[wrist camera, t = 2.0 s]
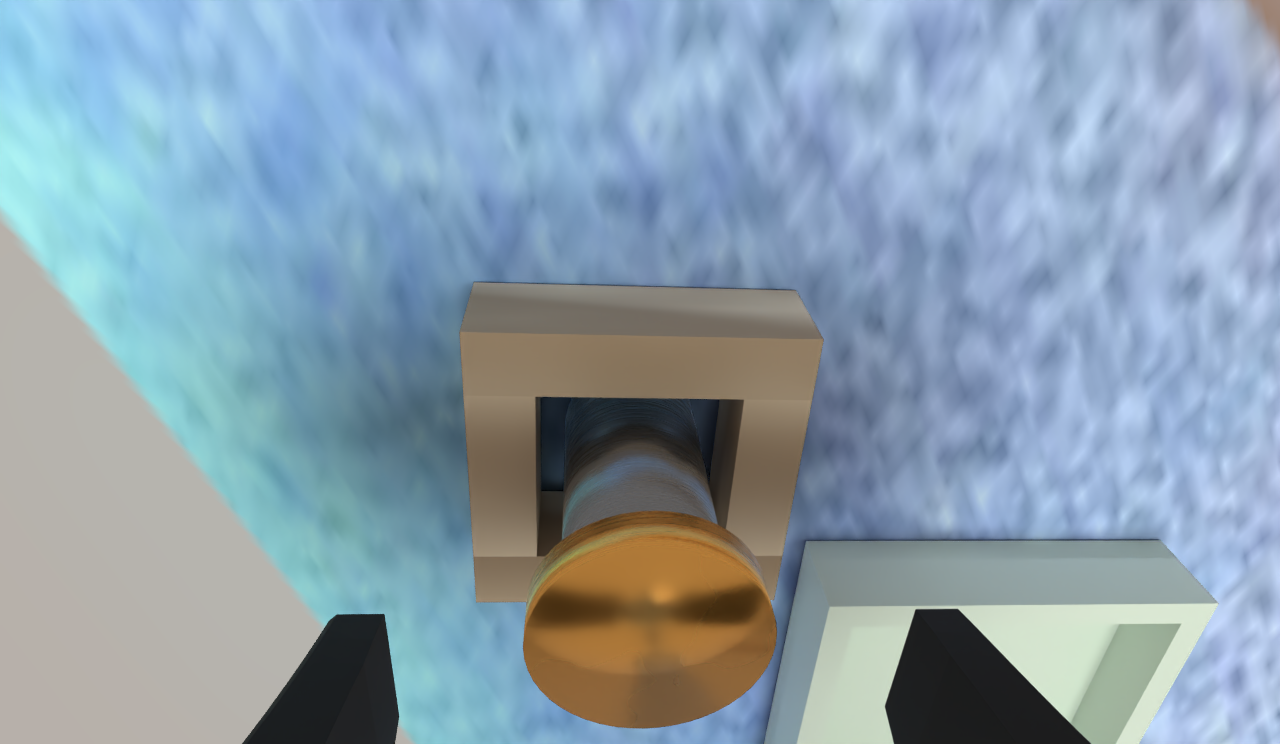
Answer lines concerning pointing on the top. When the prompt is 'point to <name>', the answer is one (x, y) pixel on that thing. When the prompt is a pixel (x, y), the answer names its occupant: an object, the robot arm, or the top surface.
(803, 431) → the collar block
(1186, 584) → the parts tray
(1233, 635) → the top surface
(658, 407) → the pin
